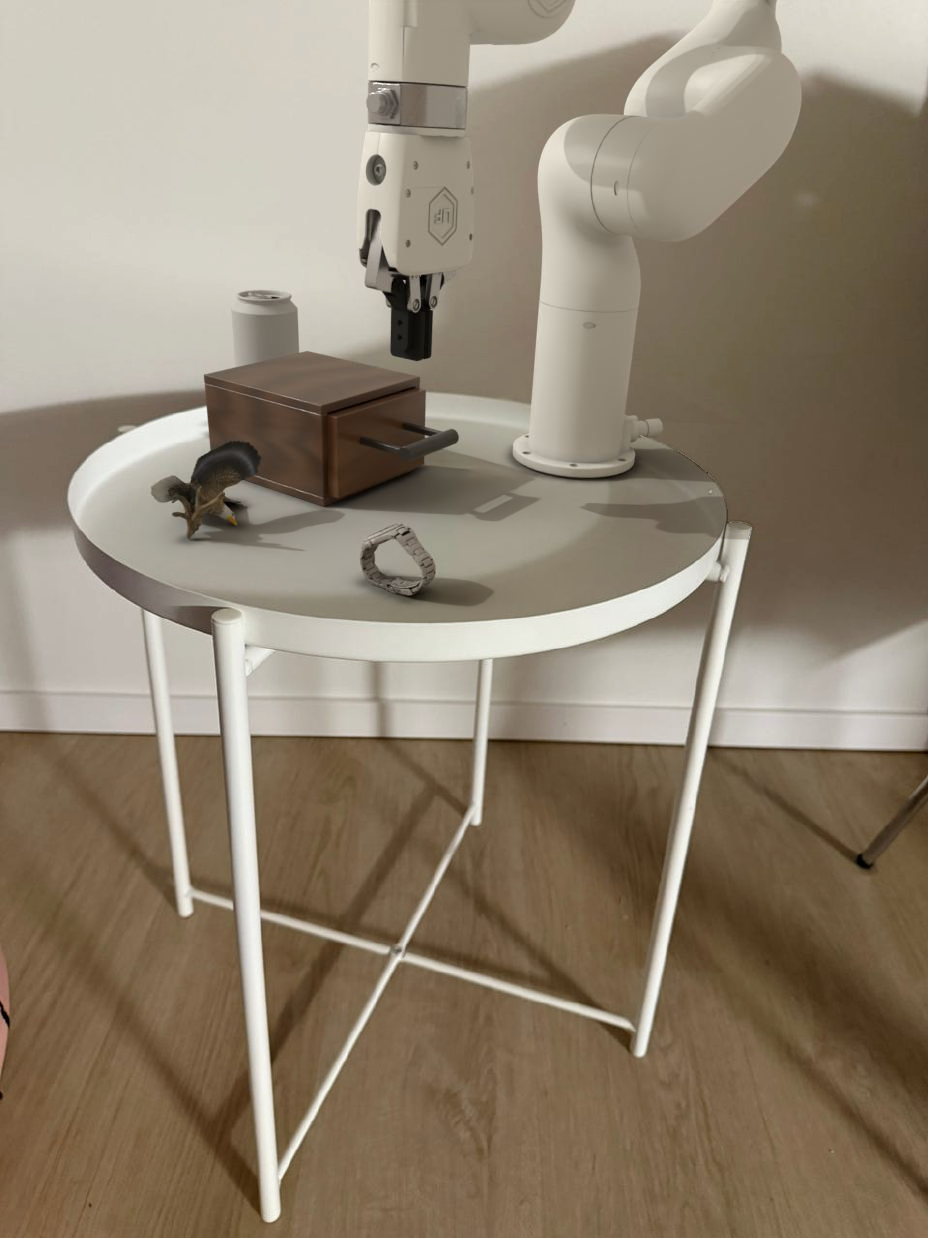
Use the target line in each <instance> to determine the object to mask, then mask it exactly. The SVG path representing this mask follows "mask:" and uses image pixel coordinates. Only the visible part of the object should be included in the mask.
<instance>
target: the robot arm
mask: <svg viewBox="0 0 928 1238" xmlns="http://www.w3.org/2000/svg"><path fill="white" fill-rule="evenodd" d="M777 2H778V0H712V1H711V5H710V10H709V12H708V13H707V15H706V16H705V17H704V18H703V19H702V20H701V21H700V22H699V23H698V24H697V25H696V26H695V27H693V29H692V30H691V31H689V32H688V33H687V34H686V35H685V36H684V37H682V38H681V39H680V40H679V41H677V43H675V44H674V45H673V46H672V47H671V48H669V49H668V50H667V51H666V52H665V53H664V54H663V55H661V56H660V57H659V58H658V59H656V60H655V61H654V62H653V63H652V64H651V65H650V66H649V67H648V68H646V69H645V70H644V72H643V73H642V74H641V75H640V76H639V78H638V79H637V80H636V81H635V83H634V85H633V86H632V88H631V89H630V91H629V93H628V95H627V98H626V101H625V104H624V107H623V108H624V109H623V114H615V113H613V114H612V113H596V114H595V113H594V114H585V115H582V116H578V117H574V118H572V119H570V120H567V121H566V122H564V123H563V124H562V125H560V126H559V127H558V128H556V129H555V130H554V131H553V133H552V134H551V135H550V137H548V139H547V141H546V143H545V145H544V146H543V149H542V152H541V154H540V159H539V163H538V167H537V196H538V204H539V205H538V206H539V214H540V224H541V225H540V226H541V243H542V244H541V245H542V248H541V250H542V251H541V272H540V273H541V275H540V286H539V287H540V289H539V299H538V312H537V313H538V314H537V325H536V337H535V349H534V365H533V375H532V376H533V377H532V391H531V401H530V415H529V429H528V433H526V434H523V435H521V436H519V437H518V438H516V439H515V440H514V441H513V445H512V457H513V458H514V459H515V461H517V462H518V463H519V464H520V465H523V466H524V467H527V469H531V470H533V471H536V472H540V473H544V474H547V475H553V476H558V477H566V478H578V479H579V478H580V479H591V478H593V479H594V478H606V477H611V476H617V475H619V474H622V473H625V472H627V471H629V470H630V469H631V468H632V467H634V464H635V461H636V460H635V459H636V452H635V450H634V448H633V447H632V446H631V443H635V442H636V441H637V440H638V439H641V438H642V437H641V436H640V435H642V436H644V437H647V438H646V439H649V438H650V439H651V438H659V437H660V436H662V434H663V431H664V426H663V425H664V424H663V421H662V420H661V419H660V418H658V417H657V418H649V419H648V418H647V419H642V420H639V418H638V416H637V415H627V414H626V409H627V402H628V401H627V400H628V393H629V384H630V377H631V369H632V362H633V361H632V360H633V355H634V354H633V352H634V346H635V345H634V344H635V338H636V337H635V336H636V329H637V321H638V313H639V307H640V299H641V289H642V277H641V268H640V267H641V266H640V262H639V257H638V254H637V250H636V248H635V244H634V240H633V238H637V239H643V240H649V241H655V242H662V243H663V242H665V243H676V242H677V243H678V242H682V241H686V240H688V239H691V238H693V237H695V236H697V235H698V234H700V233H702V232H703V231H704V230H706V229H707V228H709V226H710V225H712V224H713V223H714V222H716V220H717V219H718V218H719V217H721V216H722V215H723V214H724V213H725V212H726V211H727V210H728V209H729V208H730V207H731V206H732V205H733V204H735V202H736V201H738V200H739V199H740V197H742V196H743V195H744V194H745V193H746V192H747V191H748V190H749V189H750V188H751V187H752V186H753V185H755V183H757V181H759V180H760V179H761V178H762V177H763V176H764V175H765V174H766V172H768V171H769V170H770V169H771V168H772V166H774V164H775V163H776V162H777V161H778V160H779V158H780V157H781V156H782V155H783V153H784V152H785V150H786V148H787V147H788V145H789V142H790V141H791V139H792V137H793V135H794V132H795V130H796V127H797V124H798V121H799V117H800V112H801V108H802V97H803V96H802V95H803V93H802V91H803V90H802V83H801V79H800V75H799V73H798V71H797V69H796V66H795V64H794V63H793V62H792V60H791V59H789V58H788V57H787V56H786V55H785V54H784V53H782V49H783V47H782V46H783V43H782V37H781V36H782V35H781V31H780V27H779V24H778V23H779V22H778V21H777V17H776V10H777ZM575 4H576V0H368V4H367V5H368V12H367V13H368V19H367V21H368V23H367V24H368V27H367V29H368V30H367V32H368V33H367V34H368V35H367V81H368V82H367V97H366V102H365V104H366V109H367V130H366V131H365V134H364V140H363V144H362V145H363V146H362V151H361V152H362V153H361V158H360V159H361V160H360V166H359V167H360V168H359V175H358V176H359V177H358V189H357V204H356V205H357V206H356V248H357V257H358V258H357V259H358V261H359V262H360V264H361V266H362V267H364V268H365V274H364V276H365V277H364V286H365V287H366V288H367V289H372V290H375V291H380V292H381V293H382V295H383V296H384V297H385V305H386V307H387V308H389V309H390V341H389V343H390V344H389V347H390V348H389V350H390V351H389V352H390V355H391V356H392V357H396V358H400V359H404V360H408V361H409V360H410V361H414V362H419V361H422V360H428V359H430V358H431V357H432V351H433V350H432V349H433V326H434V325H433V321H434V310H435V309H436V308H437V307H438V305H439V298H440V291H441V289H442V288H443V286H444V285H446V284H447V283H448V282H450V281H452V280H453V279H455V278H456V277H457V274H458V270H461V269H463V268H466V266H468V265H469V264H470V262H471V261H472V259H473V253H474V237H475V188H474V187H475V184H474V181H475V180H474V165H473V156H472V149H471V147H472V146H471V142H470V136H468V135H467V117H468V116H467V115H468V114H467V113H468V97H469V95H468V94H469V88H468V87H469V76H470V57H471V56H470V55H471V54H470V53H471V46H472V45H473V46H478V45H493V46H508V45H509V46H511V45H513V46H514V45H515V46H517V45H518V46H520V45H529V44H533V43H534V44H535V43H538V42H541V41H544V40H546V39H547V38H549V37H551V36H552V35H553V34H556V32H558V31H559V30H560V29H561V28H562V27H563V26H564V24H565V23H566V21H567V20H568V19H569V17H570V15H571V13H572V12H573V10H574V7H575ZM642 439H643V438H642Z"/></svg>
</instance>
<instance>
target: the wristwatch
mask: <svg viewBox="0 0 928 1238" xmlns="http://www.w3.org/2000/svg"><path fill="white" fill-rule="evenodd" d="M391 540H396V542H397V543H398V544H399V545H400V546H401V547H402V548H403V550H404V551H405V552H406V554H407V555H409V556H410V557H411V558H412V560H413V561H414V562H415V563H416V565H417V566H418V567H419V570H420V575H421V579H420V580H419V579H418V580H409V579H404V578H403V577H402V576H395V577H390V576H388V575H386V574H385V573H384V572H382V571H381V570H380V569H379V567H378V566H377V563H376V553H375V552H376V551H377V550H378V548H379V546H380V545H382V544H385V543H386V542H389V541H391ZM435 563H436V562H435V560H434V559H433V557H432V556H431V554H430V553H429V552H428V551H427V550H426V549H425V547H424V546H423V544H422V543H421V542H420V541H419V539H418V537H417V535H416V533H415V531H414V530H413V529H412V527H410V526H409V525H408V524H404V523H402V522H398V523H394V524H392V525H390V526H387V527H385V528H382V529H381V530H378V531H376V532H374V533H372V534H370V535H368V536H366V537H365V538H364V539H363V542H362V544H361V551H360V554H359V565H360V568H361V570H362V574H363V576H364V578H365V579H366V581H367V582H368V583H369V584H370V585H372V586H376V587H378V588H381V589H383V590H385V591H388V592H390V593H391V594H395V595H396V594H397V595H400V596H408V597H409V596H413V595H416V594H417V593H418V592H419V591H423V590H424V589H425V588H426V587H428V586H429V585H430V584H431V582H433V580H434V579H435V576H436V564H435Z"/></svg>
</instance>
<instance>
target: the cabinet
mask: <svg viewBox="0 0 928 1238" xmlns="http://www.w3.org/2000/svg"><path fill="white" fill-rule="evenodd" d="M203 383H204V392H205V393H204V394H205V403H206V404H205V405H206V414H207V416H206V417H207V426H208V441H209V451H210V450H213V449H215V448H217V447H218V446H221V445H222V444H224V443H225V442H229V441H234V440H235V441H238V440H239V441H244V442H249V443H250V445H253V446H254V448H255V449H257V450H258V455H260V456H261V460H260V466H259V467H258V468H257V469H258V472H257V473H256V474H255V475H254V476H252V477H250V478H248V479H245V480H244V481H247V482H250V483H253V484H256V485H259V486H261V487H265V488H267V489H270V490H273V491H277V492H279V493H282V494H286V495H288V496H292V497H294V498H298V499H300V500H303V501H306V502H309V503H311V504H315V505H318V506H321V507H326V506H329V505H331V504H334V503H337V502H338V501H341V500H343V499H346V498H349V497H351V496H353V495H356V494H358V493H361V492H364V491H366V490H368V489H371V488H373V487H375V486H378V485H380V484H383V483H386V482H389V481H391V480H393V479H396V478H398V477H400V476H403V475H406V474H407V473H410V472H413V471H415V470H418V469H419V466H418V467H415V468H413V469H410V470H408V471H405V472H403V473H400V474H398V475H395V476H393V477H390V478H388V479H386V480H383V481H381V482H378V483H376V484H373V485H371V486H368V487H366V488H363V489H361V490H358V491H356V492H353V493H351V494H348V495H346V496H343V497H341V498H335V497H332V496H329V494H328V455H327V416H326V415H327V413H329V412H332V411H335V410H339V409H342V408H345V407H349V406H352V405H355V404H358V403H362V402H365V401H368V400H372V399H375V398H378V397H382V396H385V395H388V394H392V393H395V392H398V391H400V392H403V391H407V390H410V389H413V388H420V389H421V387H420V386H421V376H418V375H413V374H410V373H405V372H401V371H396V370H391V369H388V368H383V367H379V366H375V365H370V364H366V363H362V362H357V361H352V360H348V359H344V358H340V357H336V356H331V355H326V354H323V353H318V352H313V351H310V350H305V351H301V352H299V353H296V354H292V355H287V356H283V357H279V358H274V359H270V360H266V361H261V362H257V363H252V364H248V365H244V366H239V367H235V366H234V367H230V368H226V369H222V370H218V371H213V372H209V373H204V374H203Z"/></svg>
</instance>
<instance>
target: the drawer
mask: <svg viewBox="0 0 928 1238" xmlns="http://www.w3.org/2000/svg"><path fill="white" fill-rule="evenodd" d="M426 401H427V389H423V388H421V387H420V388H413V389H410V390H407V391H403V392H400V391H398V392H395V393H392V394H388V395H385V396H382V397H378V398H375V399H372V400H368V401H365V402H362V403H358V404H355V405H352V406H349V407H345V408H342V409H339V410H335V411H332V412H329V413H327V415H326V416H327V455H328V494H329V496H332V497H335V498H341V497H343V496H346V495H348V494H351V493H353V492H356V491H358V490H361V489H363V488H366V487H368V486H371V485H373V484H376V483H378V482H381V481H383V480H386V479H388V478H390V477H393V476H395V475H398V474H400V473H403V472H405V471H408V470H410V469H413V468H415V467H418V468H419V467H420V466H423V465H425V456H428V455H431V454H433V453H436V452H438V451H440V450H443V449H445V448H448V447H451V446H454V445H456V444H458V442H459V439H460V435H459V433H458V430H456V429H454V428H449V429H446V430H443V431H442V430H438V429H435V428H431V427H427V426H426V409H427V408H426V407H427V406H426V404H427V403H426Z"/></svg>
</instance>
